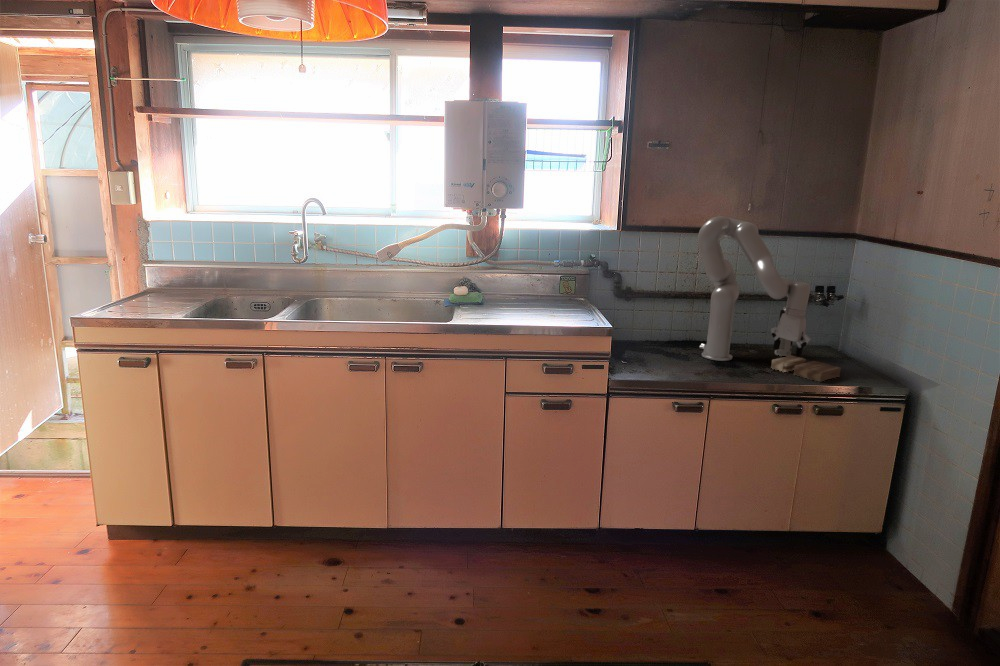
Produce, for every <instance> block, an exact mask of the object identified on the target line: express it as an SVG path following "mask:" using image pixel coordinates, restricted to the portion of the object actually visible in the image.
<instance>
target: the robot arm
mask: <svg viewBox="0 0 1000 666" xmlns="http://www.w3.org/2000/svg"><path fill="white" fill-rule="evenodd" d="M720 237H721V238H722V237H723V238H726V239H731V240H735V241H736V242H737V244H738V245H739V247H740V248H741V250H742V251H743V254H744V255H745V257H746V259H747V260H748V261H749V263H750V265H751V268H752V269H753V271H754V272H755V274H756V276H757V278H758V280H759V282H760V285H762V287H763V289H764V290H765V292H766V293H767V295H768V296H769V297H770V298H772V299H774V300H782V299H783V298H785V297H787V300H786V306H783V308H782V310H785V313H783V314H782V316H781V318H780V321H779V320H778V323H777V324H778V325H777V326H774V327H771V328H770V332H771V336H772V338H773V340H774V341H773V345H772V346H773V348H772V349H773V350H774V351H775V350H778V349H779V347H780V342H781V340H780V339H781V338H782V339H785V340H789V341H792V342H793V343H796V345H797V346H796V349H795V354H794V356H795V357H801V355H802V354H803V350H804V348H805V347H806V346H807V345H809V343H810V342H811V341H812V338H811V337H810V336H809V335H807V333H806V327H807V325H806V324H807V320H806V319H807V317H805V316H806V312H807V308H808V307H807V306H808V303H809V298H810V294H811V288H812V286H811V285H810V283H807V282H805V281H804V282H803V281H794V280H790V279H787V278H783V277H782V276H781V275H780V274H779V272H778V270H777V268H776V266H775V264H774V259H773V256H772V253H771V251H770V250H769V248H768V247H767V245H766V243H765V242H764V240H763V239H762V237H761V235H760V233H759V228H758V226H757V225H756V224H755V223H753V222H750V221H745V220H742V219H738V218H737V219H736V218H733V217H729V216H725V215H718V216H714V217H711V218H710V219H708V220H707V221H705V223H703V225H702V226H701V227H700V229H699V232H698V235H697V245H698V250H699V252H700V256H701V260H702V264H703V267H704V272H705V275H706V278H707V279H708V280H709V281H711V282H712V283H713V284H712V285H713V287H714V289H713V290H712V293H711V296H710V309H709V321H708V328H707V329H708V330H707V337H706V343H704V342H703V343H700V345H699V346H698V347H699V349H701V350H702V349H703V351H702V352H701V356H702V357H703V358H705V359H708V360H712V361H718V362H719V361H721V362H727V361H731V360H732V359H733V355H732V354H730V348H731V340H732V333H733V323H734V317H735V316H734V315H735V314H734V313H735V304H736V301H737V300H738V298H739V296H740V289H739V286H738V281H737V279H736V275H735V271H734V269H733V266H732V263H731V262H730V261H729V260H727V259H726V258H725V257H724V254H723V250H722V247H721V244H720ZM804 339H805V340H804Z"/></svg>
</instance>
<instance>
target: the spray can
mask: <svg viewBox="0 0 1000 666" xmlns="http://www.w3.org/2000/svg"><path fill="white" fill-rule="evenodd" d="M783 313H785V310H783V309H781V310H780V312H779V318H778V322H779V321H780V318H781V316H782V314H783ZM780 340H781V342H780V347H779V349H778V350H774V355H776V356H778V355H779V356H778V357H782V356H791V355H792V348H793V343H794V342H792V341H789V340H785V339H782V338H781V339H780Z"/></svg>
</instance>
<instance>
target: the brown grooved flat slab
mask: <svg viewBox="0 0 1000 666" xmlns="http://www.w3.org/2000/svg"><path fill="white" fill-rule="evenodd" d="M841 368H842V367H839V366H835V365H834V364H833V365H832V364H829V363H824V362H820V361H817V360H812V361H808V362H807V361H806V362H803V363H802V364H799V365H795V368H792V370H794V371H793V376H795V375H797V376H796V377H798V376H800V377H799V378H802V377H803V379H805V378H807V379H806V380H809V379H810V380H809V381H812V380H814V381H813V382H816V381H824V380H827V379H831V378H835V377H839V378H840V374H841ZM835 379H836V378H835ZM824 382H825V381H824Z"/></svg>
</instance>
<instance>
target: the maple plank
mask: <svg viewBox="0 0 1000 666" xmlns="http://www.w3.org/2000/svg"><path fill="white" fill-rule="evenodd" d="M803 363H807V358H805V357H801V356H799V357H795V355H792V354H791V355H790V356H786V357H782V356H781V357H778V358H774V359H771V366H770V369H771V368H772V369H771V370H774V369H775V371H777V370H779V371H778V372H781V371H782V373H784V372H787V373H789V372H788V371H791V372H794V371H793V370H792V368H795V365H799V364H803Z"/></svg>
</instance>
